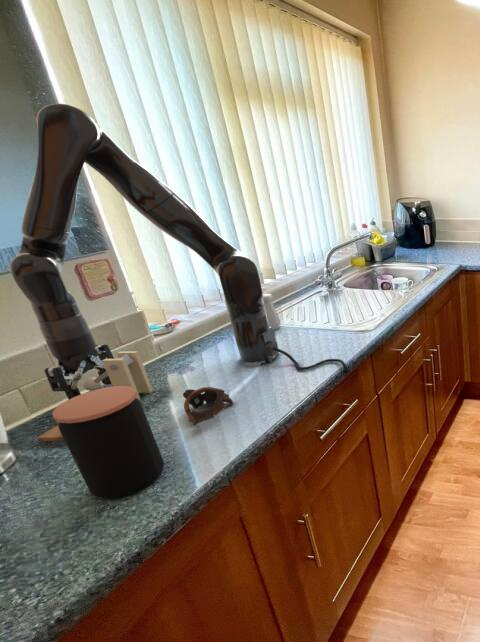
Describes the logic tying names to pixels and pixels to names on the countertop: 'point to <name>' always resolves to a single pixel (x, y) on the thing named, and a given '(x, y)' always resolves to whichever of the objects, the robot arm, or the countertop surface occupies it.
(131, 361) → the lever
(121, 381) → the bracket
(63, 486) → the countertop surface
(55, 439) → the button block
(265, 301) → the salt shaker
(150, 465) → the coffee jar
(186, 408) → the brown hollow shell
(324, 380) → the countertop surface
